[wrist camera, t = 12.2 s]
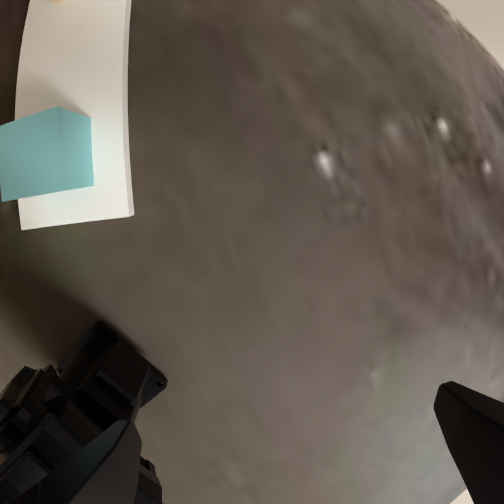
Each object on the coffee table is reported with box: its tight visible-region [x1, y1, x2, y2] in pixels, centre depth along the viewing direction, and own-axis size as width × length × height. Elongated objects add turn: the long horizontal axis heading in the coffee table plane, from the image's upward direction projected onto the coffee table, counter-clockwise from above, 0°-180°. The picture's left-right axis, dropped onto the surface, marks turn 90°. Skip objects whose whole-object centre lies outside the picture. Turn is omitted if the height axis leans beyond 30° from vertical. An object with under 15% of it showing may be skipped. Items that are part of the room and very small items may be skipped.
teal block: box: [0, 107, 94, 202], centre depth 14 cm, size 4×4×4 cm
